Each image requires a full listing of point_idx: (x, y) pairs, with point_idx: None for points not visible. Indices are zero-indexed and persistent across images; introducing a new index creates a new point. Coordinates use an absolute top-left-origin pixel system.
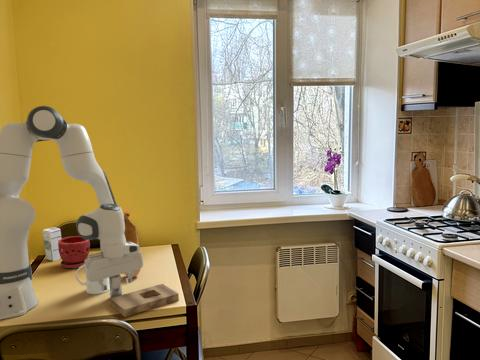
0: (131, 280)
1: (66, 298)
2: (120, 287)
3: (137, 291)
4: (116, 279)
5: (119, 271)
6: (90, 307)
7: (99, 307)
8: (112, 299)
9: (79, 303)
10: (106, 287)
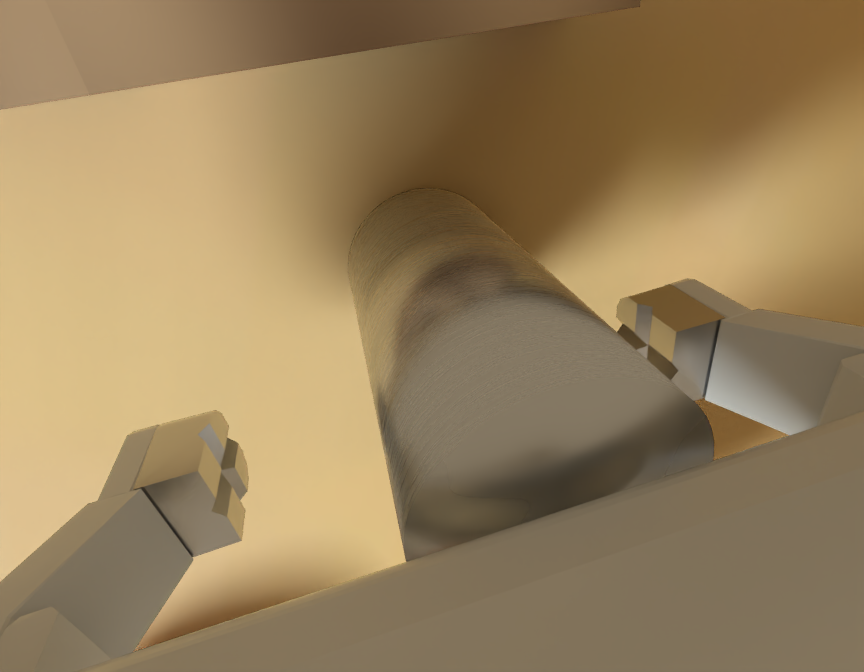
0: (122, 456)
1: (780, 437)
2: (395, 281)
3: (6, 45)
4: (563, 351)
5: (503, 661)
6: (778, 111)
7: (712, 33)
8: None
9: (781, 292)
10: (657, 310)
